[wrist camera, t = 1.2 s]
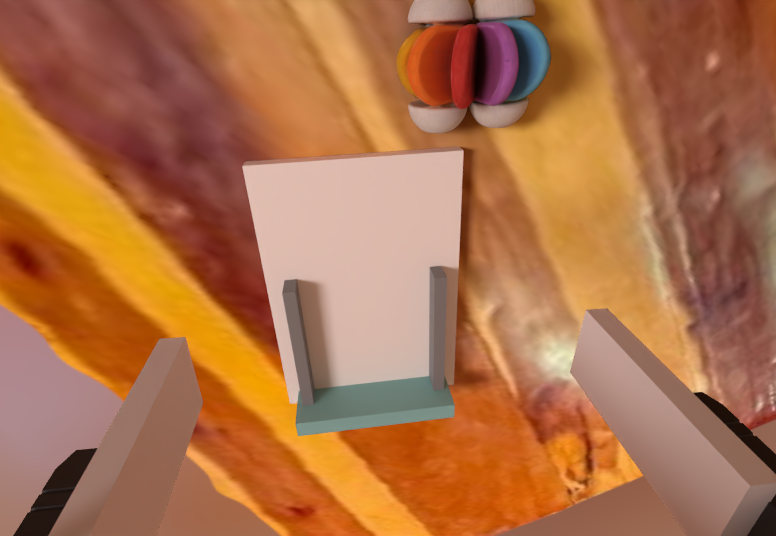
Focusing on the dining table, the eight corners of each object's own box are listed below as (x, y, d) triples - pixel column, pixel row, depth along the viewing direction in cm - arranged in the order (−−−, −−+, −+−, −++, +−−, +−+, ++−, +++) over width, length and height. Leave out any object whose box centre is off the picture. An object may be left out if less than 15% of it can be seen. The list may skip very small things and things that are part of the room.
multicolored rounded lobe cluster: (390, -8, 28) (408, -20, 22) (534, -15, 29) (592, -29, 23) (395, 128, 32) (412, 151, 26) (522, 118, 33) (569, 138, 27)
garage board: (245, 161, 32) (231, 182, 27) (459, 146, 33) (479, 164, 29) (291, 394, 43) (286, 437, 38) (450, 376, 44) (464, 415, 40)
